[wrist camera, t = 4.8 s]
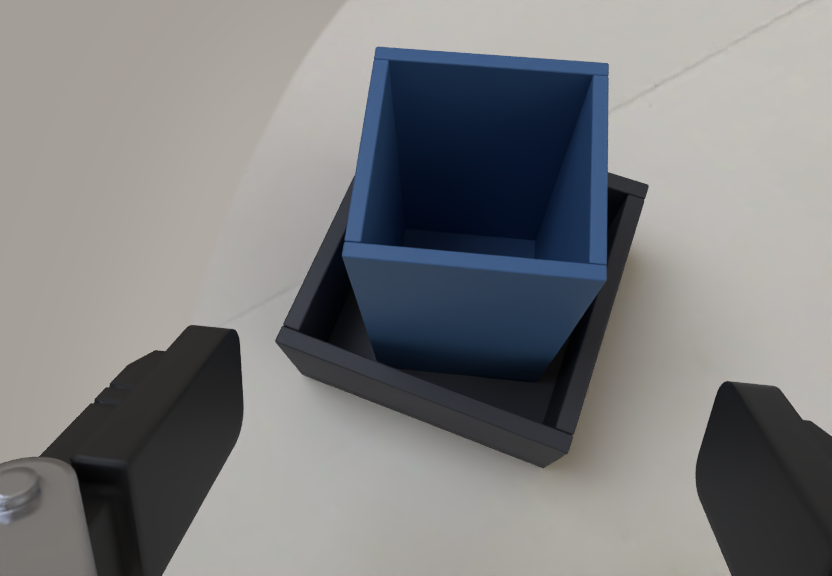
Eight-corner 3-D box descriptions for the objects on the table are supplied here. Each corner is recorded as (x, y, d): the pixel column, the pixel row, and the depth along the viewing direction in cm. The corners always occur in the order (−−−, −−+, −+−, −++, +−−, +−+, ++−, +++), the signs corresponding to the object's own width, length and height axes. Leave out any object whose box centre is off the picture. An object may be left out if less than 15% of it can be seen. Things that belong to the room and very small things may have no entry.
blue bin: (537, 383, 24) (606, 281, 15) (377, 366, 25) (341, 256, 15) (544, 237, 26) (609, 62, 17) (397, 224, 27) (375, 45, 17)
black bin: (544, 468, 24) (568, 454, 20) (301, 374, 25) (274, 341, 21) (615, 240, 27) (649, 184, 23) (395, 168, 28) (388, 102, 24)
